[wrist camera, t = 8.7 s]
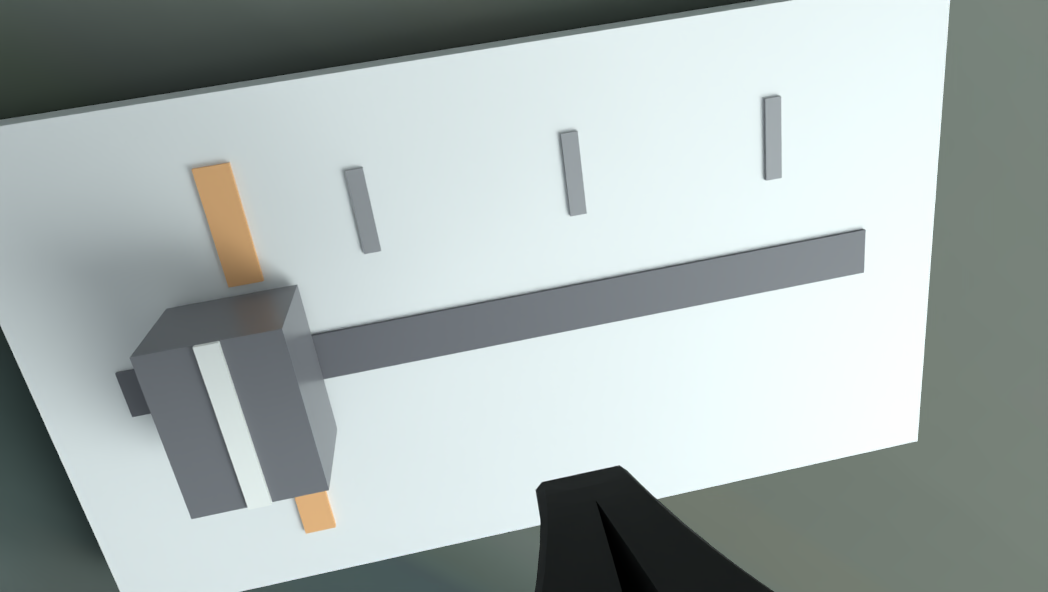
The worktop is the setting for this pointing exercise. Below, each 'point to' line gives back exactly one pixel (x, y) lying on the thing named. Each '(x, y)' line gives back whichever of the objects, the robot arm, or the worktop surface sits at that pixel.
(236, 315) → the fader tab
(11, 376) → the worktop surface
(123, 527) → the fader console
